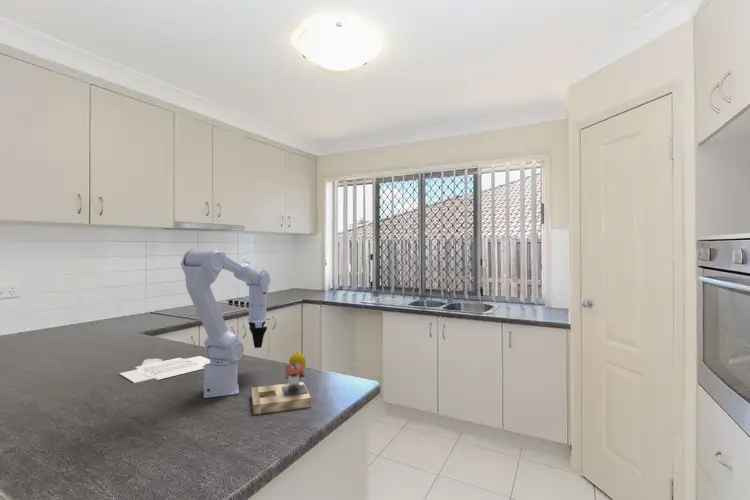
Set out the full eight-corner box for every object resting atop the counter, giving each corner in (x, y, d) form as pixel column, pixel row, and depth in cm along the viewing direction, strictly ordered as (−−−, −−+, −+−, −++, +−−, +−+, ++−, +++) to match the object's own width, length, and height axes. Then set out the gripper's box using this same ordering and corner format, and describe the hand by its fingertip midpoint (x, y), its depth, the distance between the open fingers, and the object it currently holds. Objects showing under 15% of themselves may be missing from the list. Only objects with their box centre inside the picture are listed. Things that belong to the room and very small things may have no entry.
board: (253, 414, 96) (253, 403, 96) (251, 396, 109) (251, 386, 109) (310, 406, 102) (311, 396, 102) (302, 389, 114) (302, 380, 114)
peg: (304, 392, 105) (305, 367, 105) (285, 394, 103) (286, 368, 103) (300, 385, 110) (301, 361, 110) (283, 387, 108) (284, 362, 108)
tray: (222, 366, 138) (221, 356, 138) (138, 391, 116) (137, 379, 116) (195, 356, 151) (195, 347, 151) (115, 377, 129) (114, 366, 129)
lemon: (301, 378, 124) (301, 354, 124) (286, 376, 126) (286, 353, 126) (307, 372, 130) (308, 350, 130) (293, 371, 131) (293, 349, 131)
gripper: (271, 307, 122) (271, 349, 121) (268, 301, 135) (267, 339, 135) (249, 308, 119) (248, 351, 119) (247, 302, 133) (247, 340, 133)
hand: (257, 344), depth 127 cm, fingers open, 7 cm apart
